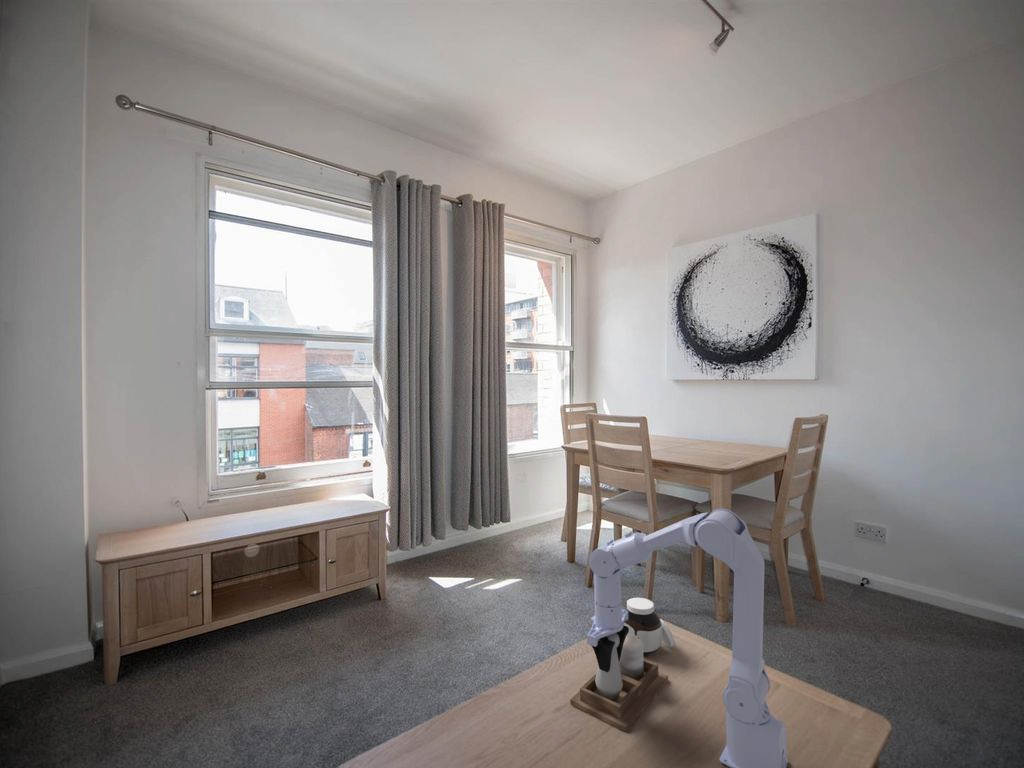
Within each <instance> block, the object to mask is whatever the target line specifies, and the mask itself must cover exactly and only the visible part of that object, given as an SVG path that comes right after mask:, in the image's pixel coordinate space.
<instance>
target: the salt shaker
mask: <svg viewBox="0 0 1024 768" xmlns="http://www.w3.org/2000/svg"><path fill="white" fill-rule="evenodd" d="M607 637H608V640H611V641H613V642H615V644H614V647H613V650H612V654H611V665H610V670H609V672H605V671H603V670H600V669H599V665H598V664H597V669H596V673H597V674H596V673H595V674H596V679H595V682H596V687H597V689H598V691H599V693H600V695H601V696H603V697H605V698H607V699H609V700H613V699H617V698H618V696H619V694H620V692H621V690H622V687H623V683H622V677H621V672H620V666H619V660H618V654H617V647H618V645H619V641H620V640H619V636H618V634H617V633H613V634H611V635H608V636H607Z"/></svg>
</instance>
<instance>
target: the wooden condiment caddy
mask: <svg viewBox="0 0 1024 768" xmlns="http://www.w3.org/2000/svg"><path fill="white" fill-rule="evenodd" d="M619 666H620V672H621V677H622V683H623V687H622V690H621V692H620V694H619V696H618V698H617V699H613V700H609V699H607V698H605V697H603V696H601V695H600V693H599V691H598V689H597V687H596V682H595V679H596V674H597V672H596V673H595V674H594V675H593V676H592V677H591V678H590V679H589V680H588V681H586V683H584V685H582V686H581V687H580V688H579V691H578V692H576V694H575V695H574V696H573V697H572V698H570V699H569V700H570V705H571V706H573V707H575V708H577V709H579V710H580V711H583V712H585V713H587V714H589V715H591V716H593V717H595V718H596V719H599V720H601V721H603V722H605V723H607V724H608V725H611V726H612V727H615V728H617V729H619V730H621V731H623V732H625V733H627V731H628V730H629V729H630V727H632V725H633V724H634V722H636V720H637V719H638V717H640V716H641V714H643V711H645V709H646V708H647V707H648V706H649V705H650V703H651V702H652V701H653V699H654V698H655V697H656V696H657V695H658V693H659V692H660V691H661V690H662V689H663V687H664V686H665V685H666V684H667V683H668V681H669V675H667V674H664V673H661V672H659V664H658V663H655V662H653V661H650V660H648V659H644V656H643V642H642V641H641V640H640V639H639V638H637V637H634V636H626V638H625V641H624V644H623V648H622V653H621V657H620V661H619Z"/></svg>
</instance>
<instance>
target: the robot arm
mask: <svg viewBox="0 0 1024 768" xmlns="http://www.w3.org/2000/svg"><path fill="white" fill-rule="evenodd" d="M708 513H709V512H708V511H707V512H701V513H699V514H695V515H693V516H689V517H686V518H684V519H681V520H679V521H678V522H674V523H673V524H670V525H668V526H665V527H664V528H661V529H659V530H657V531H653V532H652V533H650V534H644V533H642V532H635V533H633V531H631V530H630V531H629V532H626V533H625V534H624V537H622V538H619V539H617V540H613V539H611V540H608V541H607V542H606V543H604V544H602V545H601V546H599V547H598V548H596V549H594V550H593V551H592V552H591V553H590V555H589V557H588V565H589V568H590V569H591V571H592V572H593V586H594V587H593V588H594V589H593V590H594V593H593V594H594V595H593V596H594V615H593V616H591V618H590V623H592V625H591V628H590V631H589V632H588V633H587V634H586V644H588V645H590V646H591V647H592V648H591V649H593V652H594V655H595V657H596V661H597V666H598V665H599V669H600V670H603V671H605V672H609V670H610V665H611V654H612V650H613V647H614V644H615V642H613V641H611V640H608V637H607V636H608V635H611V634H613V633H617V634H618V636H619V640H620V641H619V645H618V647H617V654H618V660H619V661H620V657H621V653H622V648H623V644H624V641H625V638H626V636H627V634H628V632H629V628H628V627H627V626H624V622H625V621H627V620H628V611H626V609H623V608H622V607H623V605H622V579H621V570H624V569H627V568H630V567H633V566H636V565H638V564H641V563H644V562H646V561H649V560H650V559H651V558H652V554H653V552H654V551H658V550H661V549H664V548H667V547H670V546H673V545H676V544H680V543H683V542H684V543H686V544H688V545H690V546H692V547H694V548H696V547H697V546H699V547H700V548H701V549H702V550H704V552H706V553H708V554H709V555H710V556H713V557H714V558H716V559H718V560H720V561H721V562H723V563H725V564H726V565H727V567H729V568H730V569H731V570H732V571H733V605H732V608H733V609H732V610H733V611H732V616H733V617H732V649H731V653H732V654H731V662H730V667H729V672H728V683H727V684H726V685H725V688H724V689H723V691H722V702H723V705H724V708H725V722H726V723H725V725H726V726H725V727H726V745H725V747H724V749H723V751H722V752H721V754H720V757H719V762H720V763H721V764H723V765H725V766H727V767H728V768H787V766H788V762H789V760H788V757H787V755H788V753H787V752H788V750H787V729H786V724H785V722H783V721H781V720H780V719H778V718H777V717H775V716H774V715H772V714H771V710H770V708H769V706H768V704H767V702H766V699H767V696H768V693H769V691H770V689H771V679H770V678H769V676H768V673H767V671H766V667H765V665H766V661H765V659H764V658H763V651H764V650H763V649H764V648H763V647H764V646H763V645H764V607H765V606H764V605H765V604H764V602H765V600H764V599H765V597H764V596H765V559H764V557H763V555H762V553H761V552H760V550H759V548H758V547H757V545H756V543H755V541H754V539H753V538H752V536H751V534H750V532H749V529H748V526H747V523H746V522H745V521H744V520H743V519H742V518H741V517H739V516H738V515H737V514H736V513H735V512H733V511H731V510H729V509H726V508H717V509H715V510H714V509H713V510H712V511H711V512H710V513H709V514H708Z"/></svg>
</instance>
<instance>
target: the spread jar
mask: <svg viewBox="0 0 1024 768" xmlns="http://www.w3.org/2000/svg"><path fill="white" fill-rule="evenodd" d="M625 610H626V611H628V620H627V621H625V622H624V626H627V627H628V628H629V632H628V634H627V636H634V637H637V638H639V639H640V640H641V641H642V642H643V657H644V656H651V655H653V654H655V653H656V652H657V651H658V650H659V649H660V648H661V646H662V643H663V644H664V646H666V647H667V648H669V649H671V648H672V647H674V646H675V645H676V641H675V636H674V635H673V633H672V631H671V629H670V626H668V625H667V623H666V622H665V621H664V620H662V619H661V617H659V615H658V614H657V612H655V605H654V602H653V601H651V599H648V598H644V597H632V598H630V599H628V600H626V609H625Z"/></svg>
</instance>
